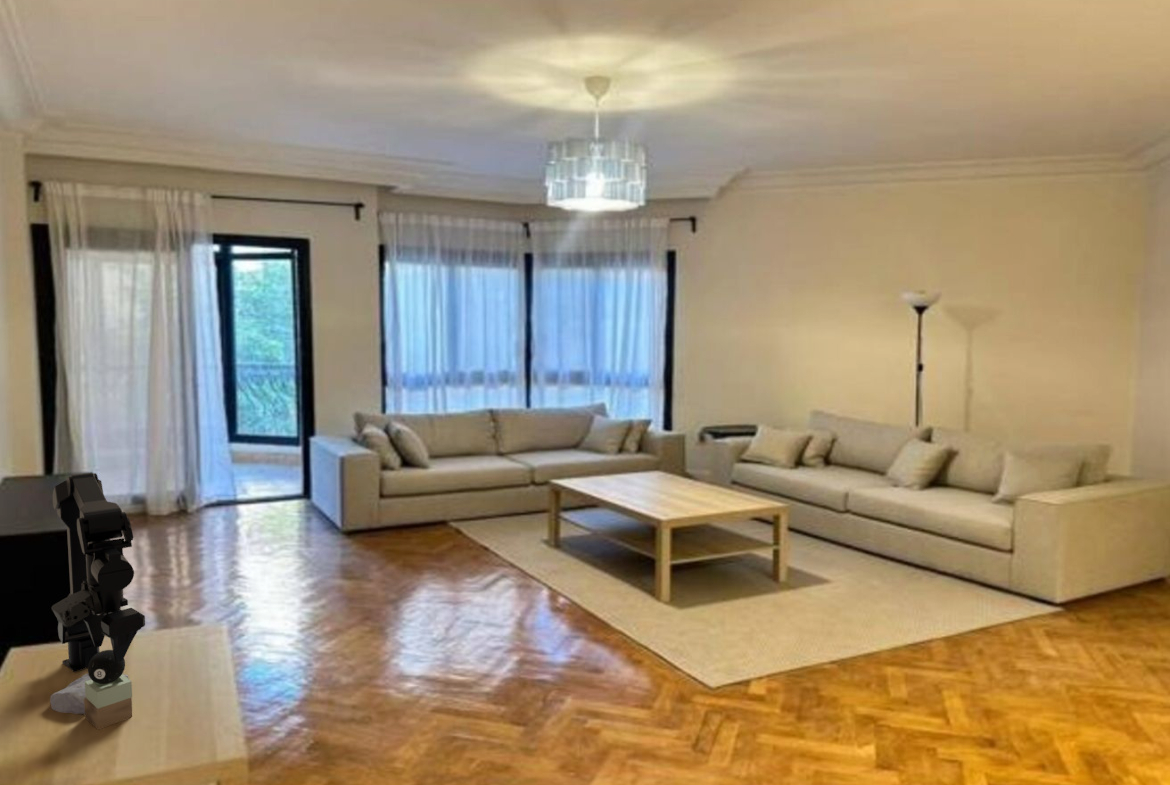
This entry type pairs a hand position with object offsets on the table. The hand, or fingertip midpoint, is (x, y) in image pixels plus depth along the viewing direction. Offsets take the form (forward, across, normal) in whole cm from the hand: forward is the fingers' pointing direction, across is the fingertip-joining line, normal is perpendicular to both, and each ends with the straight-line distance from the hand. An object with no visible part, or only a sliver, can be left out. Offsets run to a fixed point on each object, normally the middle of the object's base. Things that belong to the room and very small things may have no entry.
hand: (108, 653), depth 156 cm
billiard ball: (+5, 0, -1) cm, 5 cm away
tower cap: (+8, 0, 0) cm, 8 cm away
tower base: (+12, 0, -1) cm, 12 cm away
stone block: (+13, -10, 0) cm, 16 cm away
